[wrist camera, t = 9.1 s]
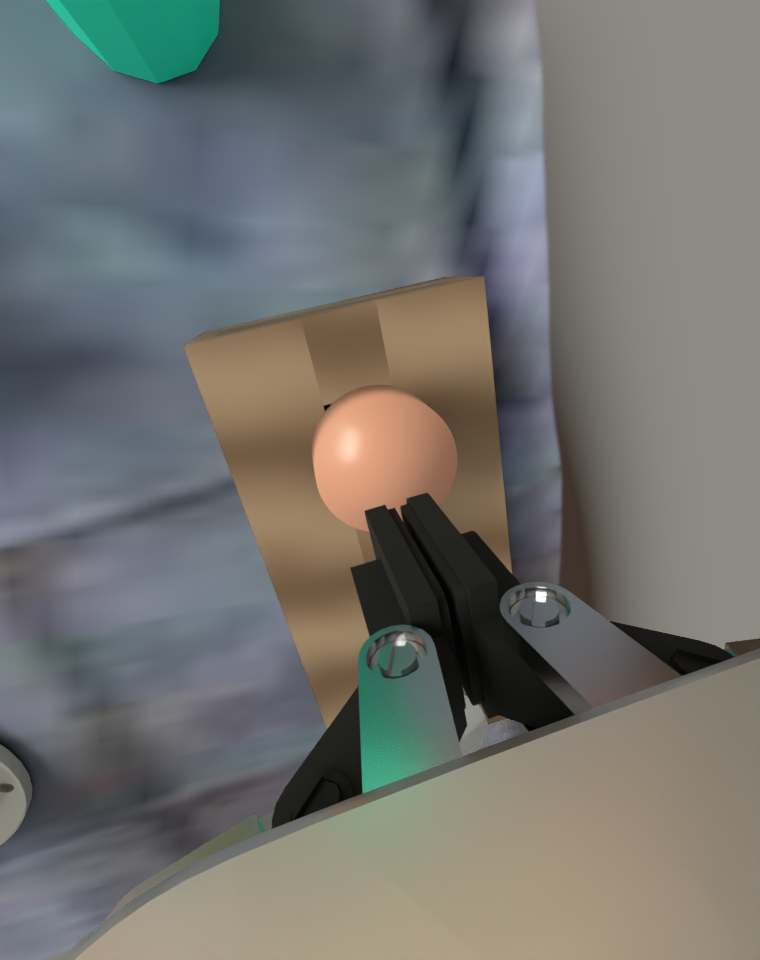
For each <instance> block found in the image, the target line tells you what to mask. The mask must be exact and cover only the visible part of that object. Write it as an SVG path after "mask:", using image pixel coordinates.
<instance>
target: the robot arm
mask: <svg viewBox="0 0 760 960" xmlns="http://www.w3.org/2000/svg"><path fill="white" fill-rule="evenodd" d="M406 502H407V504H405V505H402V506H400V509H401V514H402V519H403V521H402V519H401V518H400V516H399V514H398V512H397V511H396V509H395V508H392V509H387V507H386V505H382V506H379V507H375V508H372V509H368V510H365V517H366V521H367V525H368V529H369V533H370V537H371V541H372V545H373V549H374V553H375V557H376V560H374V561H370V562H367V563H364V564H361V565H357V566H354V567H351V568H350V569H351V573H352V577H353V580H354V584H355V587H356V591H357V594H358V598H359V602H360V605H361V609H362V612H363V616H364V619H365V623H366V626H367V630H368V633H369V636H370V637H369V638H368V639H367V640H366V641H365V642H364V644H363V646H362V647H361V649H360V651H359V656H358V685H359V686H358V687H357V688H356V690H355V691H354V693H353V694H352V695H351V697H350V698H349V700H348V701H347V702H346V704H345V705H344V706H343V708H342V709H341V711H340V712H339V713H338V715H337V716H336V718H335V719H334V720H333V722H332V723H331V725H330V726H329V727H328V729H327V730H326V732H325V733H324V734H323V736H322V737H321V739H320V740H319V741H318V743H317V744H316V746H315V747H314V748H313V750H312V751H311V753H310V754H309V755H308V757H307V758H306V760H305V761H304V762H303V764H302V765H301V767H300V768H299V769H298V771H297V772H296V774H295V775H294V776H293V778H292V779H291V780H290V782H289V783H288V785H287V786H286V787H285V789H284V791H283V792H282V794H281V796H280V798H279V800H278V801H277V803H276V806H275V809H274V810H272V811H271V812H269V813H267V814H266V815H264V816H263V817H261V818H258V816H257V815H256V813H254V814H252V815H251V816H249V817H247V818H246V819H244V820H243V821H241V822H239V823H238V824H236V825H234V826H233V827H231V828H230V829H228V830H226V831H225V832H223V833H221V834H220V835H218V836H217V837H215V838H213V839H212V840H210V841H208V842H207V843H205V844H203V845H202V846H200V847H199V848H197V849H195V850H194V851H192V852H190V853H189V854H187V855H186V856H184V857H182V858H181V859H179V860H177V861H176V862H174V863H173V864H171V865H169V866H168V867H166V868H164V869H163V870H161V871H160V872H158V873H156V874H155V875H153V876H151V877H150V878H148V879H147V880H145V881H143V882H142V883H140V884H138V885H137V886H136V887H135V888H134V889H132V890H131V891H130V892H129V893H127V894H126V895H125V896H124V897H122V898H121V900H120V901H119V902H118V903H117V905H116V906H115V907H114V908H113V910H112V911H111V912H110V913H109V915H108V916H107V917H106V919H105V921H104V922H103V923H102V924H101V925H100V926H98V927H97V928H96V929H95V930H93V931H92V932H91V933H89V934H88V935H87V936H86V937H84V938H83V939H82V940H81V941H79V942H78V943H77V944H76V945H75V946H74V947H73V948H72V949H71V950H70V951H69V952H68V953H66V954H65V955H64V956H63V957H62V958H61V959H60V960H760V638H758V639H751V640H743V641H735V642H728V643H726V644H725V650H723V649H721V648H719V647H717V646H715V645H712V644H709V643H705V642H702V641H699V640H694V639H689V638H685V637H680V636H676V635H671V634H667V633H662V632H657V631H653V630H648V629H643V628H639V627H634V626H630V625H625V624H621V623H616V622H611V621H608V620H607V619H605V618H604V617H603V616H601V615H600V614H599V613H597V612H596V611H595V610H593V609H592V608H591V607H589V606H588V605H587V604H585V603H584V602H583V601H581V600H580V599H579V598H577V597H576V596H574V595H573V594H572V593H571V592H569V591H567V590H566V589H564V588H562V587H560V586H558V585H554V584H551V583H546V582H528V583H523V584H520V583H519V582H518V580H517V579H516V578H515V577H514V576H513V575H512V573H511V572H510V571H509V570H508V569H507V568H506V567H505V565H504V564H503V563H502V562H501V561H500V560H499V558H498V557H497V556H496V555H495V554H494V553H493V551H492V550H491V549H490V548H489V547H488V546H487V544H486V543H485V542H484V541H483V540H482V539H481V538H480V536H479V535H478V534H477V533H476V532H475V531H469V532H466V533H462V534H460V533H459V531H458V530H457V529H456V527H455V526H454V525H453V524H452V522H451V521H450V520H449V519H448V517H447V516H446V515H445V514H444V512H443V511H442V510H441V509H440V507H439V506H438V505H437V503H436V502H435V501H434V500H433V498H432V497H431V496H430V495H429V494H428V493H424V494H420V495H417V496H413V497H410V498H407V500H406ZM463 688H464V690H465V692H466V694H467V696H468V698H469V700H470V702H471V704H472V705H473V706H475V705H478V704H481V705H482V707H483V709H484V711H485V713H486V715H487V717H488V719H490V718H493V717H496V716H498V715H500V716H503V717H505V718H508V719H511V720H513V721H514V727H515V729H516V731H517V732H518V734H519V736H516V737H514V738H511V739H508V740H505V741H503V742H500V743H497V744H495V745H492V746H489V747H486V748H484V749H481V750H478V751H476V752H473V753H470V754H468V755H465V756H462V752H461V748H460V744H459V742H460V740H461V738H462V736H463V734H464V732H465V729H466V727H467V720H466V715H465V709H466V703H465V698H464V692H463ZM31 800H32V784H31V780H30V777H29V774H28V772H27V771H26V769H25V767H24V766H23V764H22V763H21V761H20V760H19V759H18V758H17V757H16V756H15V755H14V754H13V753H12V752H11V751H9V750H8V749H7V748H5V747H4V746H2V745H1V744H0V845H2V844H3V843H5V842H6V841H7V840H8V839H9V838H10V837H11V836H12V835H13V834H14V833H15V832H16V831H17V830H18V828H19V826H20V824H21V822H22V820H23V819H24V817H25V815H26V813H27V811H28V808H29V805H30V802H31Z"/></svg>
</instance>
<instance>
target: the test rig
mask: <svg viewBox="0 0 760 960" xmlns="http://www.w3.org/2000/svg"><path fill="white" fill-rule="evenodd" d="M183 347H184V350H185V352H186V355H187V358H188V360H189V363H190V366H191V368H192V371H193V374H194V376H195V379H196V382H197V384H198V387H199V390H200V392H201V395H202V398H203V400H204V403H205V406H206V408H207V411H208V414H209V416H210V419H211V422H212V424H213V427H214V430H215V432H216V435H217V437H218V440H219V443H220V445H221V448H222V451H223V453H224V456H225V459H226V461H227V464H228V467H229V469H230V472H231V475H232V477H233V480H234V483H235V485H236V488H237V491H238V493H239V496H240V499H241V501H242V504H243V507H244V509H245V512H246V515H247V517H248V520H249V523H250V525H251V528H252V531H253V533H254V536H255V539H256V541H257V544H258V547H259V549H260V552H261V554H262V557H263V560H264V562H265V565H266V568H267V570H268V573H269V576H270V578H271V581H272V584H273V586H274V589H275V592H276V594H277V597H278V600H279V602H280V605H281V608H282V610H283V613H284V616H285V618H286V621H287V624H288V626H289V629H290V632H291V634H292V637H293V640H294V642H295V645H296V648H297V650H298V653H299V656H300V658H301V661H302V664H303V666H304V669H305V671H306V674H307V677H308V679H309V682H310V685H311V687H312V690H313V693H314V695H315V698H316V701H317V703H318V706H319V709H320V711H321V714H322V717H323V719H324V722H325V725H326V727H327V729H328V727H329V726H330V725H331V723H332V722H333V720H334V719H335V718H336V716H337V715H338V713H339V712H340V711H341V709H342V708H343V706H344V705H345V704H346V702H347V701H348V700H349V698H350V697H351V695H352V694H353V693H354V691H355V690H356V688H357V687H358V686H359V685H358V656H359V651H360V649H361V647H362V646H363V644H364V642H365V641H366V640H367V639H368V638H369V637H370V636H369V633H368V630H367V626H366V623H365V619H364V616H363V612H362V609H361V605H360V602H359V598H358V594H357V591H356V587H355V584H354V580H353V577H352V573H351V569H350V568H351V567H354V566H357V565H361V564H364V563H367V562H370V561H374V560H376V557H375V553H374V549H373V545H372V541H371V537H370V533H369V532H368V531H363V530H359V529H356V528H354V527H351V526H349V525H348V524H346V523H344V522H342V521H341V520H340V519H338V518H337V517H336V516H335V515H334V514H333V513H332V512H331V511H330V510H329V509H328V507H327V506H326V505H325V503H324V501H323V500H322V498H321V496H320V493H319V491H318V488H317V483H316V478H315V473H314V467H313V461H312V451H311V450H312V440H313V435H314V432H315V429H316V426H317V424H318V422H319V420H320V418H321V417H322V415H323V414H324V413H325V411H326V410H327V409H328V408H329V407H330V406H331V405H332V404H333V403H334V402H335V401H336V400H337V399H339V398H340V397H342V396H343V395H345V394H346V393H348V392H350V391H353V390H355V389H358V388H361V387H364V386H370V385H390V386H394V387H399V388H401V389H404V390H406V391H408V392H410V393H412V394H414V395H415V396H416V397H418V398H419V399H420V400H421V401H423V402H424V403H425V404H426V405H427V406H429V407H430V408H431V409H432V410H433V411H435V412H436V413H437V414H438V415H439V416H440V417H441V418H442V419H443V420H444V422H445V423H446V424H447V426H448V428H449V429H450V431H451V433H452V435H453V438H454V441H455V445H456V450H457V469H456V474H455V478H454V481H453V484H452V486H451V488H450V490H449V492H448V494H447V496H446V497H445V499H444V500H443V501H442V503H441V504H440V505H439V507H440V509H441V510H442V511H443V512H444V514H445V515H446V516H447V517H448V519H449V520H450V521H451V522H452V524H453V525H454V526H455V527H456V529H457V530H458V531H459V533H460V534H462V533H466V532H469V531H475V532H476V533H477V534H478V535H479V536H480V538H481V539H482V540H483V541H484V542H485V543H486V544H487V546H488V547H489V548H490V549H491V550H492V551H493V553H494V554H495V555H496V556H497V557H498V558H499V560H500V561H501V562H502V563H503V564H504V565H505V567H506V568H507V569H508V570H509V571H510V572H511V573H512V567H511V556H510V546H509V535H508V524H507V514H506V503H505V492H504V482H503V471H502V460H501V450H500V439H499V428H498V418H497V407H496V396H495V386H494V375H493V365H492V354H491V343H490V333H489V322H488V311H487V301H486V290H485V279H484V276H472V277H443V278H439V279H435V280H430V281H426V282H422V283H417V284H413V285H409V286H404V287H400V288H396V289H391V290H387V291H383V292H378V293H374V294H369V295H365V296H361V297H356V298H352V299H348V300H343V301H339V302H335V303H330V304H326V305H322V306H317V307H313V308H309V309H304V310H300V311H296V312H291V313H287V314H282V315H278V316H274V317H269V318H265V319H261V320H256V321H252V322H248V323H243V324H239V325H235V326H230V327H226V328H222V329H217V330H213V331H208V332H204V333H202V334H201V335H199V336H197V337H196V338H194V339H193V340H191V341H190V342H188V343H187V344H185V345H184V346H183ZM479 705H480V707H481V709H482V711H483V713H484V715H485V717H486V719H487V722H488V724H491V723H494V722H497V721H500V720H503V719H506V718H505V717H503V716H500V715H498V716H496V717H493V718H490V719H488V717H487V715H486V713H485V711H484V709H483V707H482V705H481V704H479Z"/></svg>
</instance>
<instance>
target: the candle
mask: <svg viewBox="0 0 760 960" xmlns="http://www.w3.org/2000/svg"><path fill="white" fill-rule="evenodd" d="M46 1H47V2H48V3H49V5H50V6H51V7H52V8H53V9H54V11H55V12H56V13H57V14H58V16H59V17H60V18H61V19H62V20H63V22H64V23H65V24H66V25H67V26H68V28H69V29H70V30H71V31H72V32H73V34H74V35H76V36H77V37H78V38H79V39H80V40H81V41H82V42H83V43H84V44H85V45H86V46H88V47H89V48H90V49H91V50H92V51H93V52H94V53H95V54H96V55H97V56H98V57H99V58H101V59H102V60H103V61H104V62H105V63H106V64H107V65H108V66H109V67H110V68H111V69H113V70H114V71H116V72H119V73H123V74H126V75H130V76H133V77H137V78H140V79H144V80H147V81H150V82H154V83H157V84H159V83H162V82H164V81H167V80H170V79H173V78H175V77H178V76H181V75H184V74H187V73H189V72H192V71H195V70H196V69H197V67H198V66H199V64H200V62H201V61H202V59H203V58H204V56H205V54H206V53H207V51H208V50H209V48H210V46H211V45H212V43H213V42H214V40H215V38H216V37H217V35H218V32H219V11H220V0H46Z"/></svg>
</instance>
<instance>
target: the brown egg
mask: <svg viewBox="0 0 760 960" xmlns="http://www.w3.org/2000/svg"><path fill="white" fill-rule="evenodd" d="M311 451H312V461H313V467H314V473H315V478H316V483H317V488H318V491H319V493H320V496H321V498H322V500H323V501H324V503H325V505H326V506H327V507H328V509H329V510H330V511H331V512H332V513H333V514H334V515H335V516H336V517H337V518H338V519H340V520H341V521H342V522H344V523H346V524H348V525H349V526H351V527H354V528H356V529H359V530H363V531H368V532H369V529H368V525H367V521H366V517H365V510H368V509H372V508H375V507H379V506H382V505H386V507H387V509H392V508H395V509H396V511H397V512H398V514H399V516H400V518H401V519H402V514H401V509H400V506H402V505H405V504H407V502H406V500H407V498H410V497H413V496H417V495H420V494H424V493H428V494H429V495H430V496H431V497H432V498H433V500H434V501H435V502H436V503H437V505H438V506H439V505H440V504H441V503H442V501H443V500H444V499H445V497H446V496H447V494H448V492H449V490H450V488H451V486H452V484H453V481H454V478H455V474H456V469H457V450H456V445H455V441H454V438H453V435H452V433H451V431H450V429H449V428H448V426H447V424H446V423H445V422H444V420H443V419H442V418H441V417H440V416H439V415H438V414H437V413H436V412H435V411H433V410H432V409H431V408H430V407H429V406H427V405H426V404H425V403H424V402H423V401H421V400H420V399H419V398H418V397H416V396H415V395H414V394H412V393H410V392H408V391H406V390H404V389H401V388H399V387H394V386H390V385H370V386H364V387H361V388H358V389H355V390H353V391H350V392H348V393H346V394H345V395H343V396H342V397H340V398H339V399H337V400H336V401H335V402H334V403H333V404H332V405H331V406H330V407H329V408H328V409H327V410H326V411H325V413H324V414H323V415H322V417H321V418H320V420H319V422H318V424H317V426H316V429H315V432H314V435H313V440H312V450H311ZM402 521H403V519H402Z"/></svg>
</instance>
